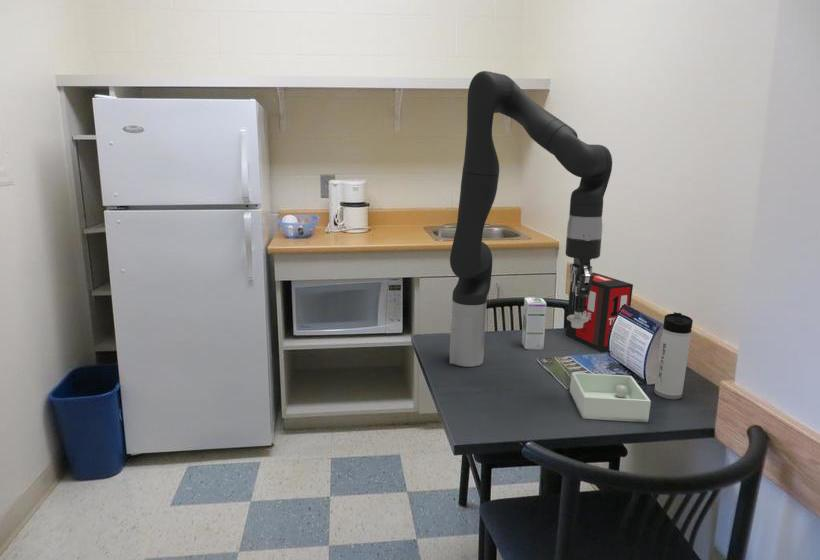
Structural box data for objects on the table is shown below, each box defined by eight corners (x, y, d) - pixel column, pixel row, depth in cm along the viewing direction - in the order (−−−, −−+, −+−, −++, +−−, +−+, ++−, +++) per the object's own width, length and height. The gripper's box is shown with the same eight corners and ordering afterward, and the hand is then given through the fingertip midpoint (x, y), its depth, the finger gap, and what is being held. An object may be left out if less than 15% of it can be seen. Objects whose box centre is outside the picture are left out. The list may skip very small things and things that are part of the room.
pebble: (616, 399, 137) (617, 387, 136) (612, 393, 140) (613, 382, 139) (628, 400, 137) (630, 388, 136) (625, 394, 140) (626, 383, 139)
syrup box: (543, 350, 170) (548, 302, 167) (523, 349, 170) (527, 301, 167) (539, 343, 176) (543, 297, 172) (520, 342, 176) (524, 296, 172)
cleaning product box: (625, 349, 173) (633, 284, 168) (602, 352, 169) (609, 286, 165) (587, 332, 188) (593, 272, 183) (565, 335, 184) (571, 274, 179)
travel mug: (680, 390, 144) (691, 314, 140) (683, 401, 138) (695, 321, 133) (653, 386, 146) (663, 310, 141) (654, 397, 140) (665, 318, 135)
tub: (582, 418, 128) (584, 397, 127) (569, 391, 142) (571, 372, 141) (648, 422, 127) (650, 401, 126) (628, 395, 141) (631, 375, 140)
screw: (585, 324, 137) (590, 330, 132) (564, 323, 137) (568, 329, 132) (589, 270, 134) (594, 274, 129) (568, 269, 134) (572, 274, 129)
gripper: (561, 231, 137) (556, 302, 140) (573, 240, 123) (567, 318, 127) (593, 231, 136) (587, 303, 140) (609, 240, 123) (602, 319, 127)
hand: (578, 310), depth 134 cm, fingers closed on screw, 2 cm apart
